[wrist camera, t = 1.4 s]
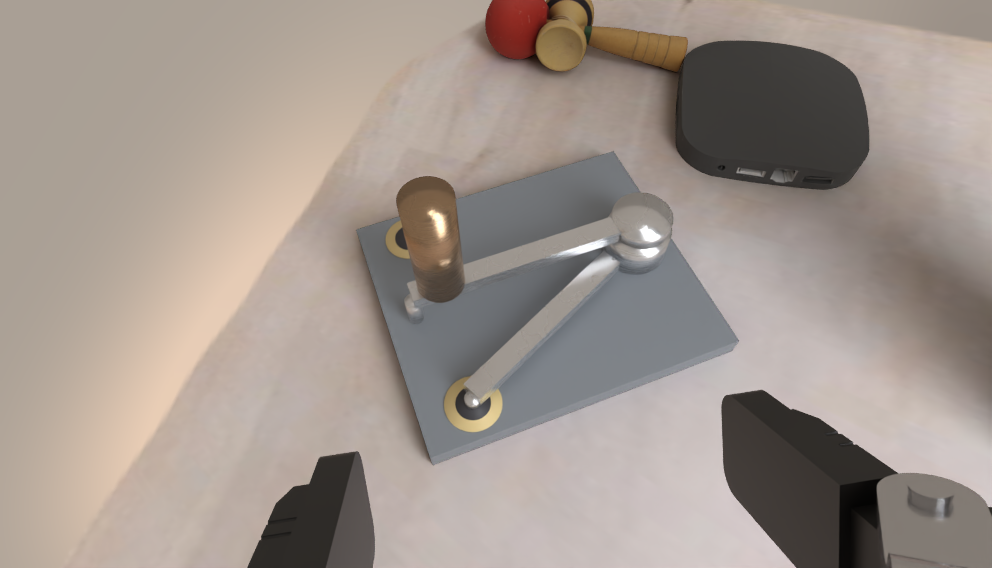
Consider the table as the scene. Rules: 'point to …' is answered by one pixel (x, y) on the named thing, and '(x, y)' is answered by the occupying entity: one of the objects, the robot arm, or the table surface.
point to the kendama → (572, 35)
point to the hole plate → (515, 301)
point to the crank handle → (440, 254)
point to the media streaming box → (770, 115)
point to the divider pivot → (558, 315)
